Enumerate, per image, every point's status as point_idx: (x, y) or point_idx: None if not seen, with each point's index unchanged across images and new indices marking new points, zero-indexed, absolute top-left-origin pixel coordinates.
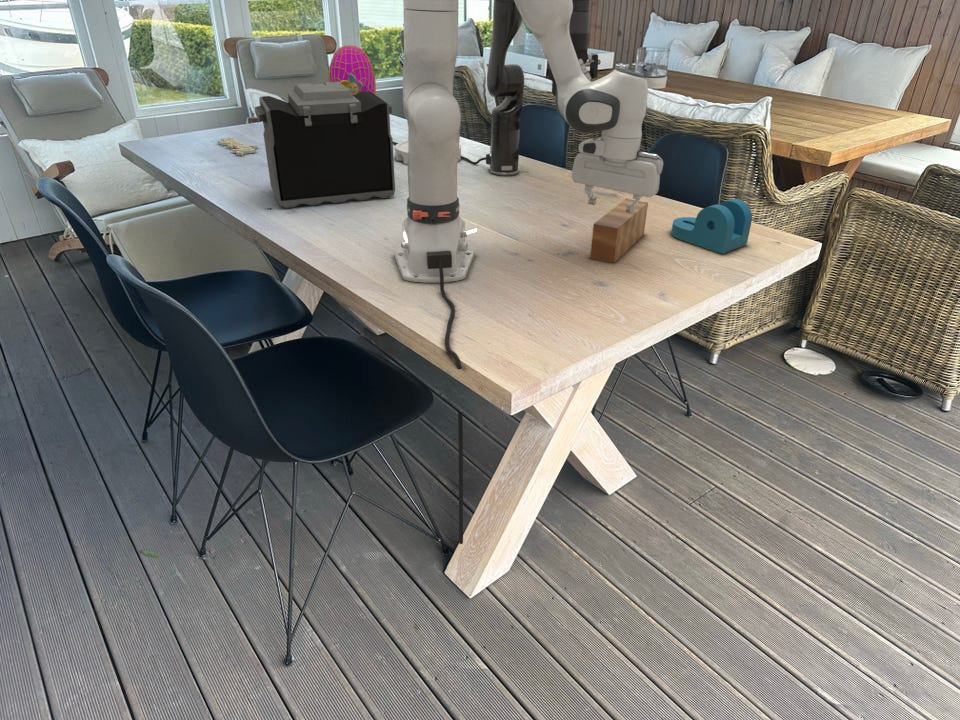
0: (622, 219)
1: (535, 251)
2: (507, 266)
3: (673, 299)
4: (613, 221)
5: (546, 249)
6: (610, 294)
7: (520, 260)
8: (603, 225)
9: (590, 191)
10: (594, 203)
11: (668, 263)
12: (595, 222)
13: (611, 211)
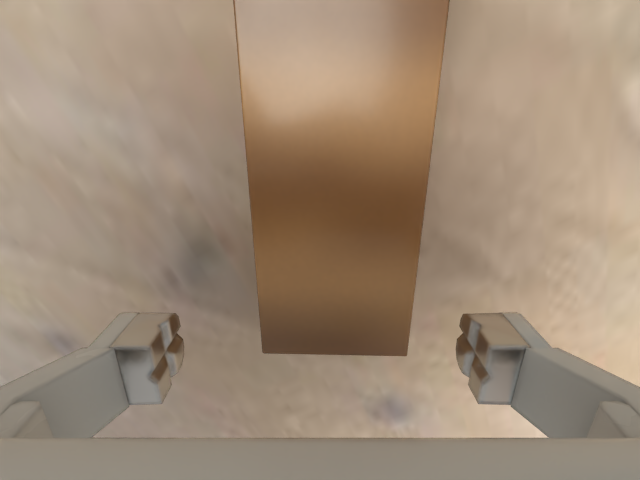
0: (390, 204)
1: (93, 293)
2: None
3: None
4: (348, 269)
5: (109, 259)
6: None
7: None
8: (321, 353)
9: (67, 418)
10: (174, 335)
11: (594, 152)
12: (261, 331)
13: (253, 65)
